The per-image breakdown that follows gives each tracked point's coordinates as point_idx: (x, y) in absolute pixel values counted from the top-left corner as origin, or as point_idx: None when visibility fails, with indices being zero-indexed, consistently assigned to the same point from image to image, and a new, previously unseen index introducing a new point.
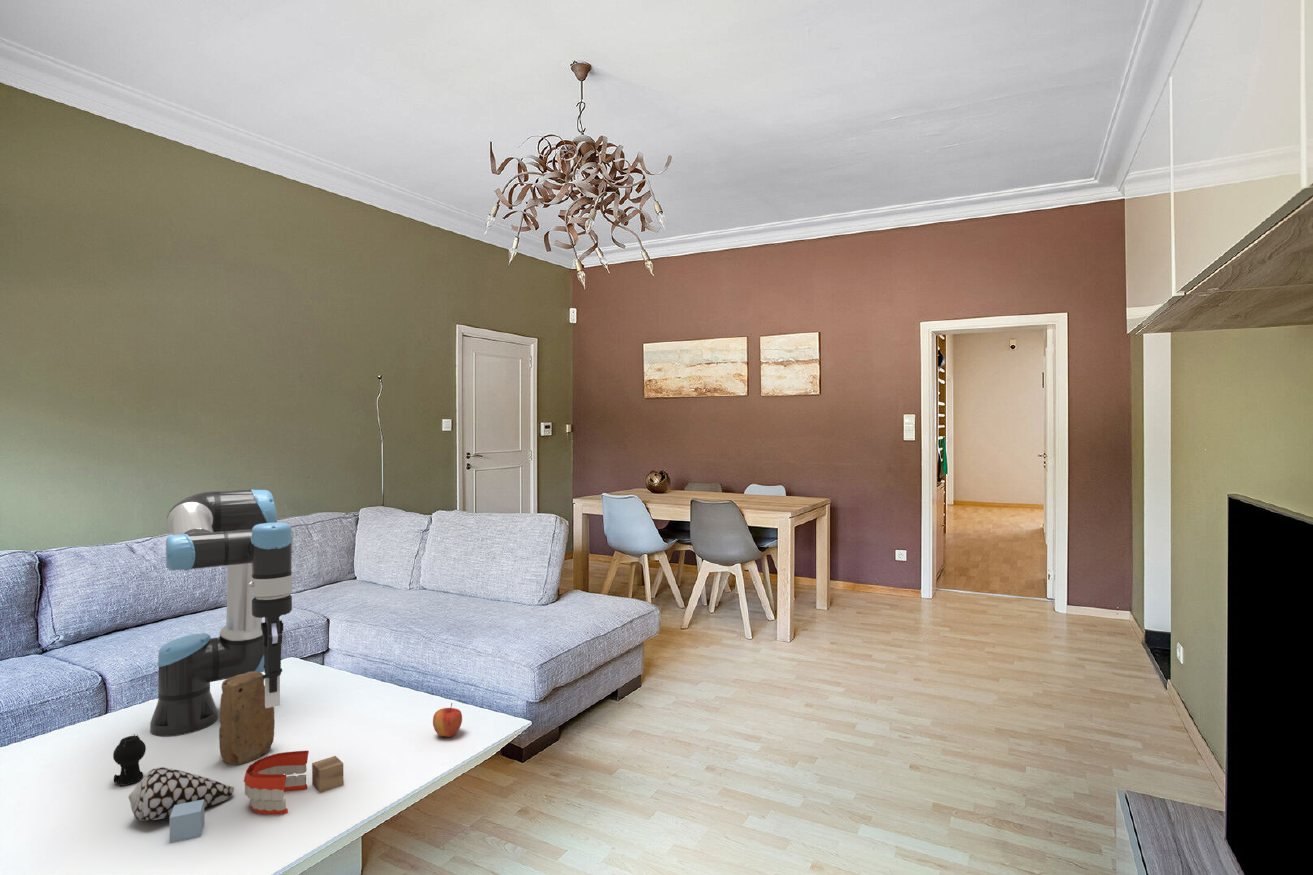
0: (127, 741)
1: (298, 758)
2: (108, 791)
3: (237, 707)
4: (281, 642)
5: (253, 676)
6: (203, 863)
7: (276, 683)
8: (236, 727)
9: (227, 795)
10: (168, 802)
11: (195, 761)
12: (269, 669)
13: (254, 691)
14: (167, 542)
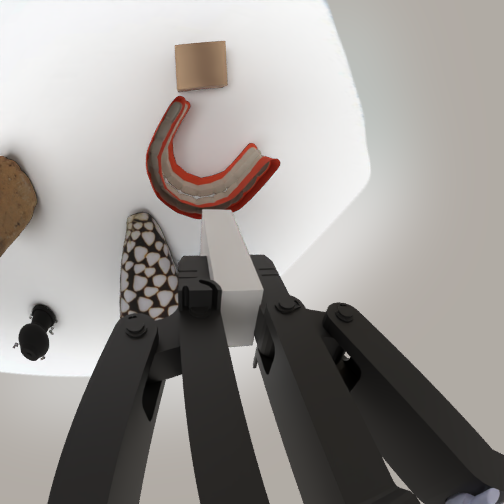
0: (36, 356)
1: (178, 117)
2: (63, 328)
3: None
4: (411, 497)
5: None
6: (307, 247)
7: (280, 282)
8: (10, 236)
9: (152, 220)
10: None
11: (10, 254)
12: (360, 375)
13: None
14: None
